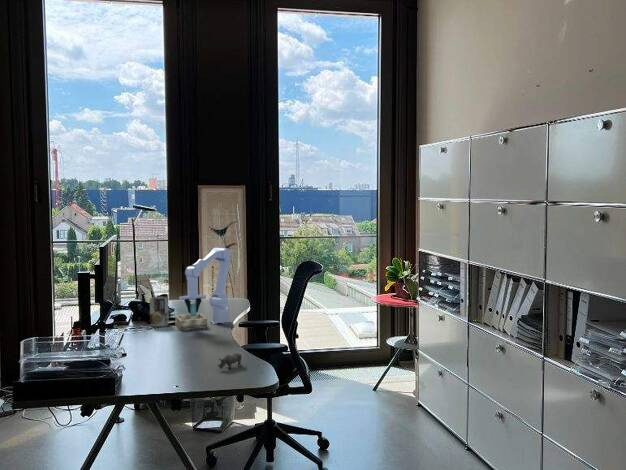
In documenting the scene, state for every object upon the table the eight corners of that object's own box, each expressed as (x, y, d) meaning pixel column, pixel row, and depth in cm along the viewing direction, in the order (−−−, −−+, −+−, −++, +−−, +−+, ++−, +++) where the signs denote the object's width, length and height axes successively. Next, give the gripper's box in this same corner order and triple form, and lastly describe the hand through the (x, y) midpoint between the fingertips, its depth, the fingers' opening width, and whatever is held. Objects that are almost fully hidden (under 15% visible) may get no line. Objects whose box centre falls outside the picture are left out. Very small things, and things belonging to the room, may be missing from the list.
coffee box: (169, 324, 338) (168, 296, 337) (165, 326, 331) (165, 298, 330) (153, 323, 339) (153, 296, 338) (149, 326, 332) (149, 298, 331)
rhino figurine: (213, 370, 251) (213, 356, 250) (238, 363, 261) (238, 350, 260) (220, 372, 248) (220, 358, 247) (244, 365, 258) (244, 352, 258)
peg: (195, 314, 327) (195, 302, 326) (197, 316, 323) (196, 303, 323) (189, 315, 325) (189, 302, 325) (190, 316, 322) (190, 304, 321)
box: (201, 322, 342) (201, 313, 342) (207, 328, 329) (207, 318, 328) (175, 324, 336) (175, 315, 336) (180, 330, 323) (180, 320, 322)
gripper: (181, 290, 316) (181, 314, 317) (207, 288, 322) (207, 312, 323) (178, 288, 323) (178, 312, 324) (204, 286, 329) (204, 310, 330)
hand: (193, 312), depth 324 cm, fingers closed on peg, 4 cm apart
